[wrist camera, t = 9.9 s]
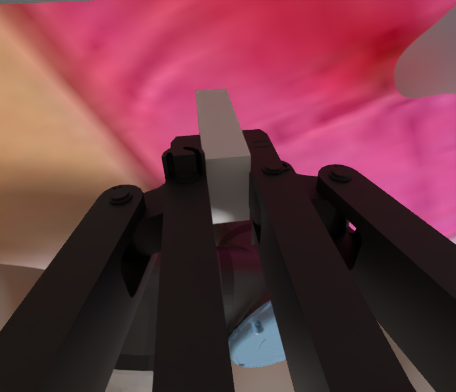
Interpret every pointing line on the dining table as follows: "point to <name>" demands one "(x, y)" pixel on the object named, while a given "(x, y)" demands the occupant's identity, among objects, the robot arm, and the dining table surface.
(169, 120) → the dining table surface
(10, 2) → the button panel
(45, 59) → the dining table surface
